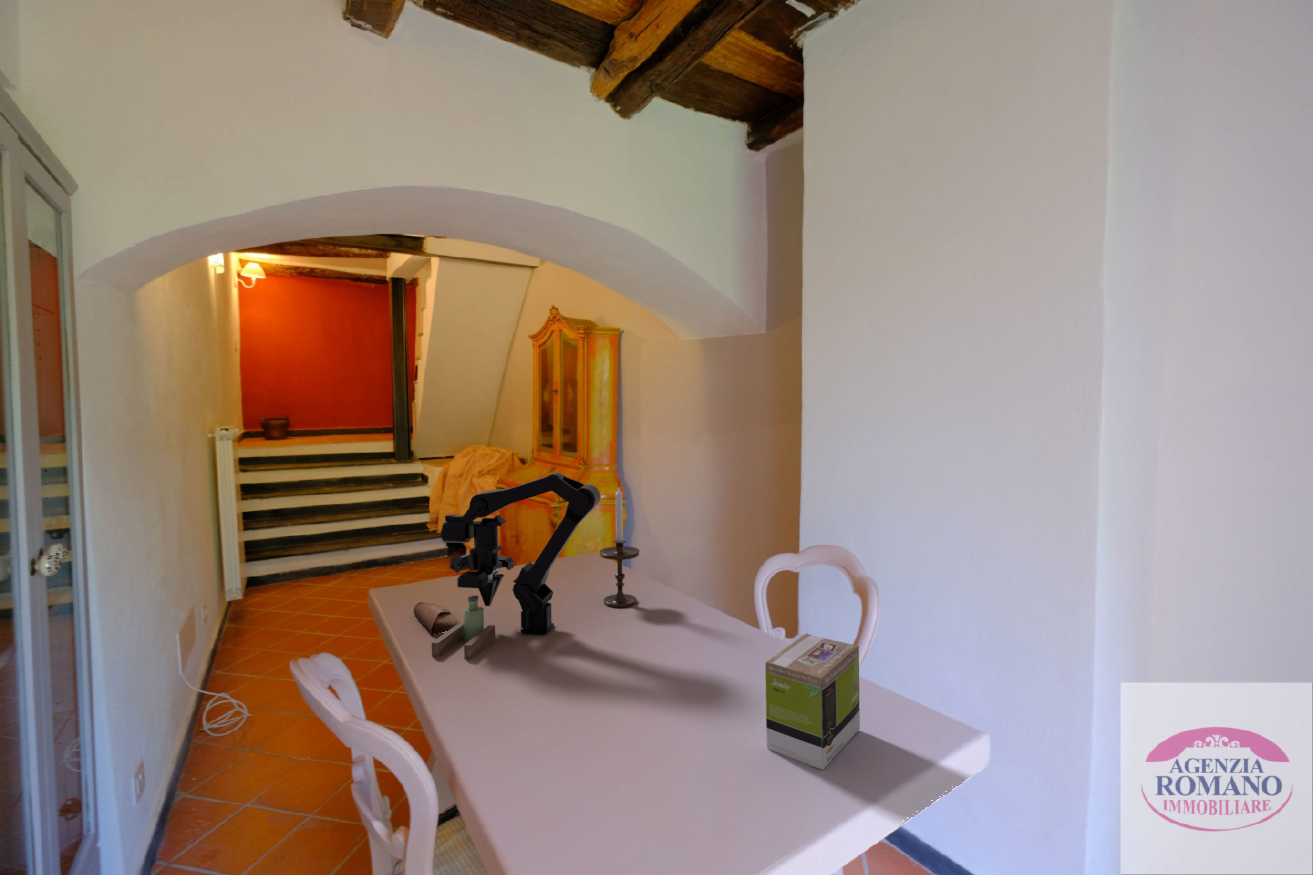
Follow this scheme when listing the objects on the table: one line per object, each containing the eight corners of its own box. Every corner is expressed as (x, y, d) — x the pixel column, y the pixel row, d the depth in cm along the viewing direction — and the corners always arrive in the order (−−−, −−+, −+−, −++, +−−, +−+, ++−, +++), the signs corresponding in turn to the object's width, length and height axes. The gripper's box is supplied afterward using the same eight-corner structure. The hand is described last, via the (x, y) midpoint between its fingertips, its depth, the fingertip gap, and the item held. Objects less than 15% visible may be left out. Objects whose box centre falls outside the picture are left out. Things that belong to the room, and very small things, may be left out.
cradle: (495, 637, 144) (495, 625, 144) (470, 658, 133) (470, 645, 132) (459, 635, 146) (459, 622, 146) (432, 655, 134) (431, 642, 134)
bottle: (487, 635, 146) (486, 594, 145) (478, 643, 141) (477, 600, 141) (469, 634, 147) (468, 593, 146) (460, 642, 142) (459, 599, 141)
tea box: (805, 711, 109) (806, 630, 108) (861, 730, 103) (862, 644, 102) (763, 749, 98) (764, 658, 97) (823, 773, 91) (824, 676, 90)
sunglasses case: (467, 627, 151) (452, 607, 148) (442, 648, 147) (427, 627, 145) (445, 607, 165) (431, 589, 163) (423, 625, 162) (408, 607, 160)
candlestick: (595, 599, 172) (593, 475, 170) (630, 594, 176) (629, 473, 174) (608, 611, 162) (606, 479, 160) (646, 605, 166) (644, 477, 164)
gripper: (474, 533, 160) (475, 592, 161) (435, 551, 142) (437, 617, 143) (514, 535, 158) (515, 594, 159) (479, 553, 140) (481, 619, 141)
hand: (487, 605), depth 151 cm, fingers closed
